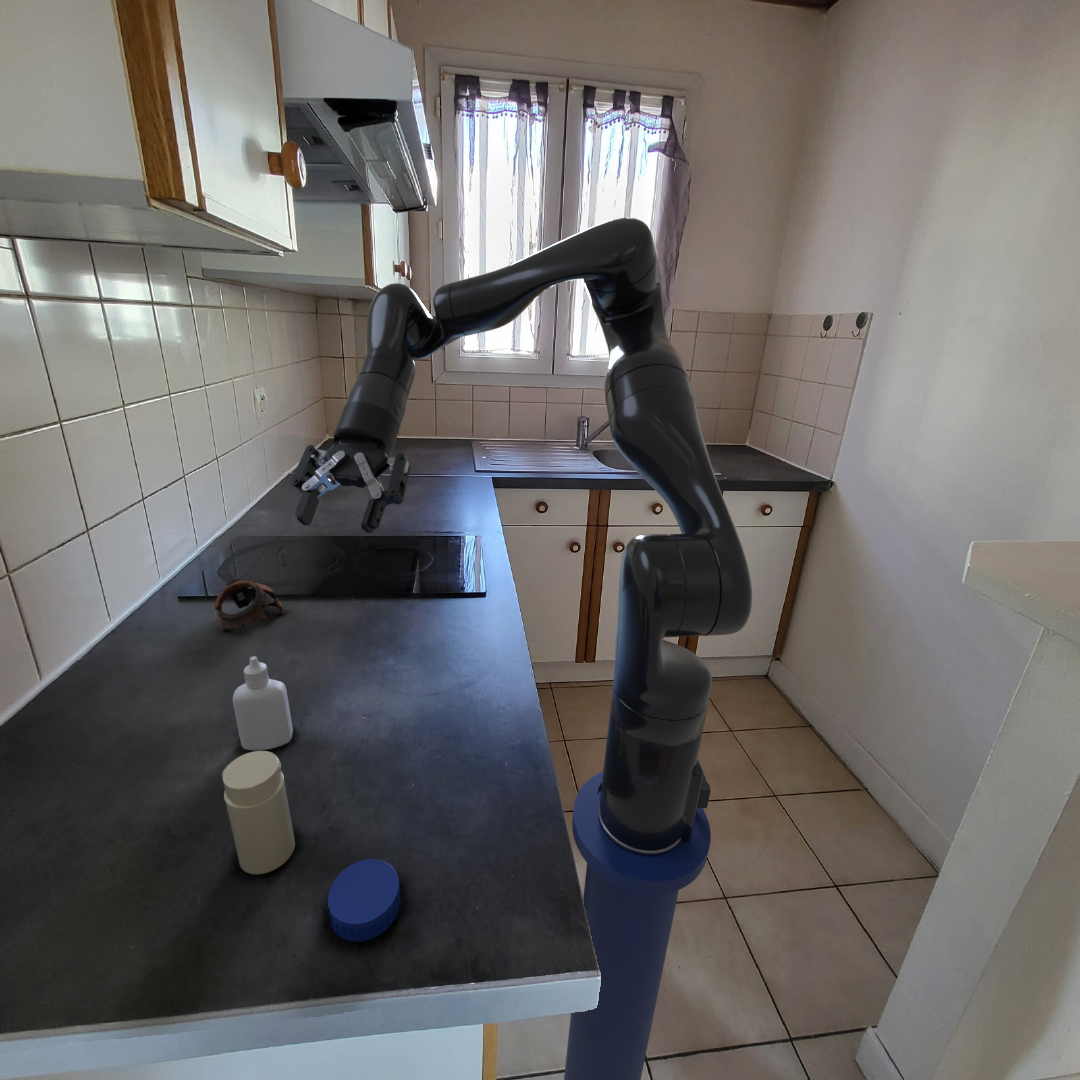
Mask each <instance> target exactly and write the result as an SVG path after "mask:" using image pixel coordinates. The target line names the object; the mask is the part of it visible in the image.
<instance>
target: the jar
mask: <svg viewBox="0 0 1080 1080" xmlns="http://www.w3.org/2000/svg"><path fill="white" fill-rule="evenodd" d="M221 777H222V784H223V788H224V792H223V799H224V803H225V809H226V812H227V817H228V821H229V825H230V826H229V827H230V830H231V835H232V839H233V842H234V847H235V851H236V852H235V853H236V855H237V856H236V857H237V860H238V865H239V867H240V868H241V870H242V871H243V872H245V873H248V874H250V875H263V874H268V873H270V872H273V871H275V870H277V869H279V868H280V867H281V866H283V865H284V864H285V863H286V862H287V861H288V860H289V859H290V858H291V856H292V854H293V852H294V850H295V846H296V838H295V833H294V827H293V821H292V815H291V810H290V805H289V804H290V803H289V797H288V793H287V786H286V781H285V775H284V773H283V771H282V763H281V760H280V759H279V758H278V756H277V755H276V754H275V753H274V752H271V751H269V750H268V751H267V750H253V751H251V752H246V753H244V754H242V755H240V756H238V757H236V758H235V759H234V760H232V761H231V762H230V763H229V764H227V765H226V767H225V768H224V769H223V771H222V773H221Z"/></svg>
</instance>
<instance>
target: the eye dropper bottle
mask: <svg viewBox="0 0 1080 1080" xmlns="http://www.w3.org/2000/svg"><path fill="white" fill-rule="evenodd" d="M267 666H268V665H267V664H266V663H264V662H261V661H259V659H258V657H257V656H255V655H254V656H251V657H249V664H248V665H246V666H245V667H244V669H243V676H244V683H243V684H241V685H239V686H238V687H236V689H235V690H234V693H233V695H232V705H233V710H234V716H235V720H236V726H237V730H238V735H239V740H240V745H241V748H242V749H244V750H247V751H267V750H271V749H275V748H278V747H282V746H284V745H286V744H288V743H290V742H291V740H292V737H293V732H294V728H293V721H292V715H291V709H290V703H289V698H288V692H287V687H286V684H285V683H284V682H282V681H279V680H276V679H273V678H272V679H271V678H270V677H269V676H270V675H269V670H268V667H267Z"/></svg>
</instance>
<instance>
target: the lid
mask: <svg viewBox="0 0 1080 1080" xmlns="http://www.w3.org/2000/svg"><path fill="white" fill-rule="evenodd" d="M400 881H401V880H399V876H398V873H397V871H396V869H395V868H394V867H393V866H392V865H391V864H390V863H388V862H386V861H384V860H381V859H377V858H369V859H368V858H367V859H363V860H359V861H357V862H355V863H352V864H351V865H349V866H347V867H346V868H345V869H343V870H342V871H341V872H340V873H338V875H337V876H336V877H335V879H334V881H333V882H332V883H331V886H330V889H329V891H328V895H327V897H328V898H327V905H328V906H327V913H328V918H329V921H330V925H331V929H333V931H334V933H335V934H336V935H337V936H338V937H340V938H341V939H342V940H344V941H348V942H351V943H360V942H361V943H362V942H367V941H371V940H373V939H374V938H377V937H378V936H380V935H382V934H383V933H384V932H385V931H386V930H387V929H389V928H390V926H391V925H392V924H393V923H394V921H395V920H396V919H397V918H396V917H397V916H398V913H399V911H400V909H401V908H400V906H401V902H402V894H401V883H400Z"/></svg>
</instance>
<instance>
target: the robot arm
mask: <svg viewBox="0 0 1080 1080" xmlns="http://www.w3.org/2000/svg"><path fill="white" fill-rule="evenodd" d="M655 246H656V245H655V242H654V237H653V234H652V232H651V229H650V228H649V226H648V225H647V223H645V222H644V221H643V220H640V219H639V218H635V217H621V218H616V219H611V220H608V221H604V222H602V223H599V224H596V225H594V226H592V227H588V228H586V229H585V230H583V231H580V232H578V233H576V234H573V235H571V236H568V237H567V238H565V239H563V240H560V241H558V242H556V243H554V244H552V245H550V246H548V247H545V248H543V249H541V250H539V251H537V252H535V253H533V254H531V255H529V256H526V257H525V258H523V259H519V260H518V261H516V262H514V263H511V264H509V265H507V266H504V267H502V268H499V269H496V270H493V271H490V272H487V273H483V274H480V275H475V276H473V277H467V278H464V279H460V280H457V281H453V282H450V283H446V284H444V285H441V286H440V287H438V288H437V289H436V290H435V292H434V295H433V298H432V299H433V300H432V306H433V312H434V316H433V315H431V314H430V313H429V311H428V309H427V308H426V307H425V305H424V304H423V302H422V301H421V300H420V298H419V297H418V295H417V294H416V292H415V291H414V290H413V289H412V288H411V287H409V286H407V285H406V284H404V283H401V282H400V283H399V282H395V283H390V284H387V285H385V286H383V287H382V288H381V289H380V290H379V291H378V292H377V293H376V294H375V295H374V297H373V298H372V301H371V302H370V306H369V309H368V312H367V321H366V322H367V323H366V335H365V357H364V358H363V361H362V364H361V367H360V369H359V372H358V374H357V377H356V380H355V381H354V383H353V384H352V387H351V388H350V391H349V393H348V395H347V397H346V400H345V403H344V406H343V408H342V411H341V414H340V416H339V419H338V422H337V425H336V427H335V429H334V433H333V441H332V444H331V446H330V447H329V448H328V449H327V450H324V449H318V448H316V446H315V445H313V444H308V445H307V446H305V449H304V451H303V453H302V456H301V458H300V460H299V462H298V464H297V467H296V469H295V471H294V473H293V475H292V477H291V479H290V484H291V485H292V486H293V487H295V488H296V489H297V491H299V492H300V493H301V496H300V498H299V501H298V504H297V506H296V509H295V513H294V514H295V517H296V520H297V521H298V523H300V524H301V525H303V526H311V525H312V522H313V520H314V517H315V514H316V511H317V509H318V506H319V504H320V500H319V498H321V497H322V496H323V495H324V494H326V493H327V492H328V491H333V490H335V489H336V488H337V487H338V486H342V487H356V488H359V489H365V487H367V488H368V490H369V493H370V495H371V497H372V498H369V499H368V501H367V504H366V507H365V510H364V514H363V517H362V519H361V523H360V528H361V529H362V530H363V531H364V532H365V533H367V534H373V533H374V532H375V530H378V528H379V527H380V525H381V522H382V518H383V515H384V512H385V509H386V507H387V506H389V505H393V504H395V505H401V504H402V503H403V501H404V498H405V496H406V495H405V494H406V490H407V487H408V486H407V485H408V481H409V478H410V473H411V469H412V466H411V463H410V462H409V460H408V459H407V457H406V455H405V454H404V453H398V454H396V455H395V456H392V453H393V452H394V448H395V444H396V443H397V438H398V435H399V432H400V429H401V427H402V423H403V420H404V417H405V414H406V411H407V410H406V408H407V404H408V403H407V402H408V399H409V397H410V393H411V389H412V386H413V384H414V381H415V378H416V371H417V367H416V362H415V360H421V359H424V358H427V357H429V356H431V355H433V354H434V353H436V352H438V351H440V350H441V349H443V348H444V347H446V346H448V345H450V344H452V343H453V342H455V341H457V340H459V339H460V338H462V337H467V336H472V335H476V334H482V333H485V332H489V331H493V330H496V329H500V328H502V327H505V326H507V325H509V324H510V323H511V322H513V321H514V320H516V319H517V318H518V317H519V316H520V315H521V314H522V313H523V312H524V311H525V310H526V309H527V308H528V307H529V306H530V305H531V304H532V303H533V302H534V301H535V300H537V298H538V297H539V296H541V295H542V294H543V293H544V292H547V290H549V289H550V288H552V287H554V286H556V285H559V284H561V283H565V282H569V281H576V280H582V281H583V284H584V287H585V289H586V293H587V295H588V298H589V300H590V304H591V305H592V309H593V311H594V313H595V315H596V317H597V319H598V322H599V324H600V327H601V330H602V333H603V337H604V340H605V343H606V346H607V350H608V351H607V352H608V364H607V367H606V372H605V376H604V400H605V405H606V413H607V417H608V423H609V431H610V435H611V438H612V440H613V443H614V445H615V448H616V449H617V451H618V452H619V453H620V454H621V455H622V457H623V458H624V459H625V460H626V462H627V463H628V464H629V465H630V466H631V467H632V468H633V469H634V471H635V472H636V473H638V475H639V476H640V477H641V478H643V480H645V482H647V484H649V486H651V487H652V489H654V490H655V491H656V493H657V494H658V495H659V496H660V497H661V498H662V499H663V501H664V502H665V503H666V504H667V506H668V507H669V509H670V511H671V512H672V515H673V517H674V519H675V520H676V522H677V523H676V524H677V526H678V528H679V530H680V533H648V534H647V533H646V534H639V535H636V536H634V537H632V538H631V539H630V540H629V541H628V542H627V544H626V546H625V548H624V550H623V554H622V557H621V562H620V569H619V579H618V580H619V581H618V603H617V604H618V605H617V622H616V623H617V624H616V635H615V647H614V673H613V681H612V691H611V698H610V699H611V701H610V710H609V719H608V727H607V734H606V743H605V753H604V761H603V771H602V772H603V778H602V783H601V784H600V786H599V788H598V794H599V792H600V791H601V794H600V801H599V806H598V818H599V822H600V825H601V827H602V829H603V831H604V833H605V834H606V835H607V836H608V838H609V839H610V840H611V841H612V842H613V843H615V844H616V845H617V846H619V847H620V848H622V849H624V850H626V851H628V852H630V853H633V854H637V855H641V856H659V855H663V854H666V853H668V852H670V851H672V850H673V849H675V848H676V847H677V846H678V845H679V844H680V843H682V842H689V841H690V838H691V833H692V828H693V823H694V818H695V813H696V808H703V809H708V806H709V801H710V796H711V792H712V791H711V786H710V783H708V781H707V779H706V776H705V773H704V770H703V768H702V765H701V762H700V761H699V753H700V748H701V743H702V739H703V734H704V728H705V723H706V718H707V712H708V708H709V703H710V700H711V699H710V697H711V693H712V686H713V679H712V673H711V670H710V668H709V666H708V665H707V664H706V663H705V661H704V660H703V659H702V658H701V657H699V656H698V655H697V654H696V653H694V652H693V651H691V650H690V649H688V648H686V647H684V646H682V645H679V644H677V643H674V642H672V641H668V640H665V638H681V637H686V638H687V637H708V636H709V637H710V636H726V635H732V634H736V633H738V632H740V631H741V630H742V629H743V628H744V627H745V626H746V625H747V623H748V621H749V618H750V616H751V614H752V613H751V612H752V608H753V607H752V606H753V586H752V585H753V584H752V579H751V572H750V567H749V564H748V560H747V557H746V555H745V551H744V548H743V545H742V542H741V540H740V537H739V534H738V532H737V529H736V526H735V524H734V521H733V519H732V516H731V514H730V511H729V509H728V506H727V503H726V501H725V498H724V496H723V493H722V491H721V488H720V485H719V482H718V481H717V478H716V475H715V471H714V469H713V465H712V462H711V458H710V455H709V451H708V449H707V448H708V447H707V445H706V440H705V437H704V434H703V430H702V426H701V422H700V416H699V412H698V407H697V403H696V399H695V396H694V395H695V394H694V392H693V388H692V384H691V380H690V377H689V375H688V372H687V369H686V367H685V364H684V361H683V359H682V357H681V355H680V353H678V352H679V351H677V349H676V348H675V346H674V345H673V344H672V342H671V340H670V338H669V335H668V331H667V325H666V319H665V310H664V308H665V307H664V297H663V295H664V294H663V283H662V282H663V281H662V275H661V274H662V273H661V271H660V266H659V261H658V256H657V251H656V247H655ZM387 470H390V472H391V474H390V477H389V482H388V484H387V485H388V486H387V489H384V486H383V484H382V482H381V480H380V478H379V477H381V476H382V475H383V474H384V473H385V472H386V471H387ZM329 474H331V478H328V475H329Z"/></svg>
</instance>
